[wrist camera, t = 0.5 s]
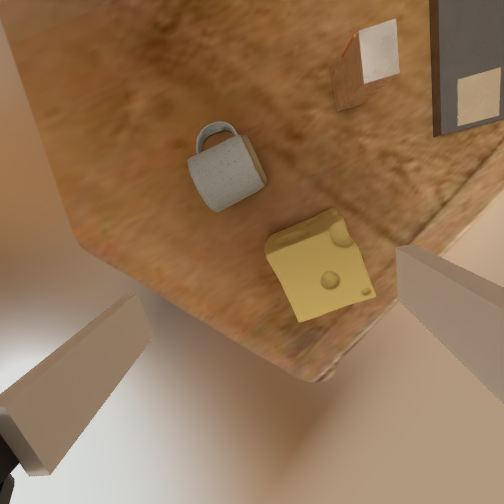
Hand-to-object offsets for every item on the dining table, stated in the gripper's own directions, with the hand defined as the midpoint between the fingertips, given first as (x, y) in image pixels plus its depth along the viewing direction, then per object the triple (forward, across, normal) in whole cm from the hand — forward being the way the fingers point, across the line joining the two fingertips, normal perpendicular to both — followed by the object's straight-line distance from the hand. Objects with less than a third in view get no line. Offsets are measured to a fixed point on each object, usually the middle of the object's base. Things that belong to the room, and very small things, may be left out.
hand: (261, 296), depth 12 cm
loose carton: (+25, +13, +14) cm, 31 cm away
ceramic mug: (+25, -4, +8) cm, 27 cm away
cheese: (+25, +5, -7) cm, 26 cm away
